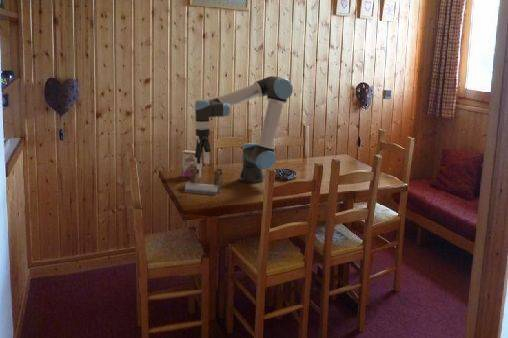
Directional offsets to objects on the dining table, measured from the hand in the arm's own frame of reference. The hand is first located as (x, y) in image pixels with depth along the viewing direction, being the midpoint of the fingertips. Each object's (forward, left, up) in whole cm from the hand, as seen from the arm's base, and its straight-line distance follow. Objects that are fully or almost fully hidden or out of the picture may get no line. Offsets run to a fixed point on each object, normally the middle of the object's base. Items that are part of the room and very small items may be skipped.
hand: (203, 166), depth 282 cm
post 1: (+8, -11, -15) cm, 20 cm away
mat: (0, 0, -15) cm, 15 cm away
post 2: (-6, -11, -15) cm, 19 cm away
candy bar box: (+16, -28, -15) cm, 36 cm away
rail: (0, 0, -14) cm, 14 cm away
